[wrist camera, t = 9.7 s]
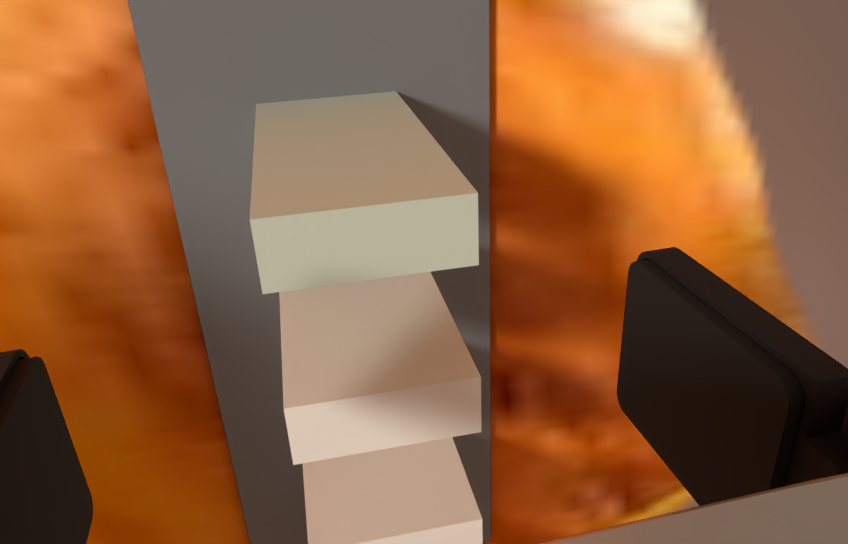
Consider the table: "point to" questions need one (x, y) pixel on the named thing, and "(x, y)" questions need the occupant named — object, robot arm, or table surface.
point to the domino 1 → (354, 194)
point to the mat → (232, 179)
